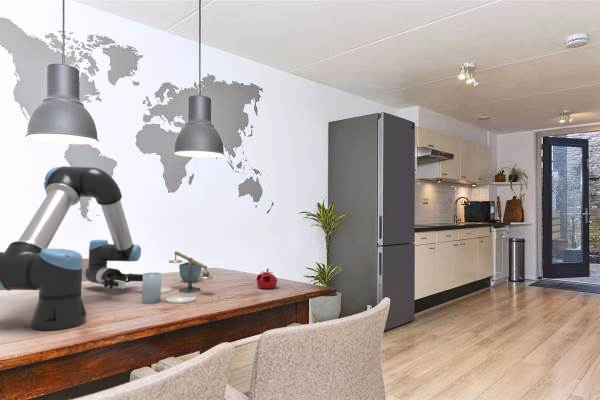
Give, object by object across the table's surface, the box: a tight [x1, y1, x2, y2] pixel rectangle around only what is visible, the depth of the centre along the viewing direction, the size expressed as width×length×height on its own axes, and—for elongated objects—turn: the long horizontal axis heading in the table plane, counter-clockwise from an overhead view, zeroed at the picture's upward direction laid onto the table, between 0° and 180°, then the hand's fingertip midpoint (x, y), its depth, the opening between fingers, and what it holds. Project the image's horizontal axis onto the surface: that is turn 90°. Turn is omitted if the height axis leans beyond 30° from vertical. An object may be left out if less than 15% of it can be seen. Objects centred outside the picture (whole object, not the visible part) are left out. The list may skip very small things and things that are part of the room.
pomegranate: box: [256, 268, 278, 290], centre depth 191 cm, size 10×10×9 cm
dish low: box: [165, 293, 197, 305], centre depth 162 cm, size 12×12×1 cm
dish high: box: [161, 285, 172, 294], centre depth 178 cm, size 12×12×1 cm
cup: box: [141, 272, 162, 305], centre depth 159 cm, size 7×7×11 cm
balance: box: [168, 251, 214, 294], centre depth 180 cm, size 7×26×17 cm, turn 56°
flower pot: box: [178, 261, 203, 283], centre depth 203 cm, size 9×9×9 cm
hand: (139, 282), depth 163 cm, fingers open, 13 cm apart
